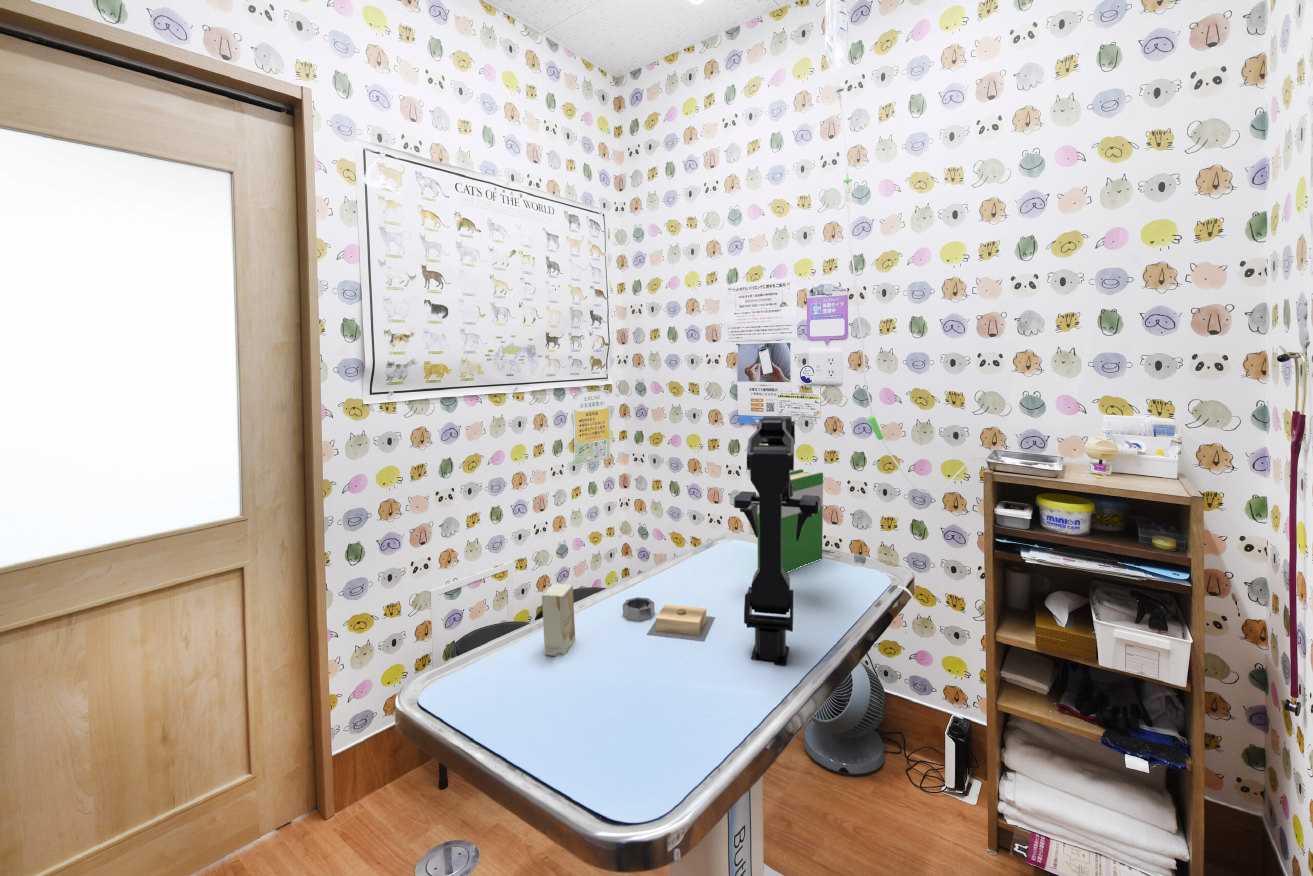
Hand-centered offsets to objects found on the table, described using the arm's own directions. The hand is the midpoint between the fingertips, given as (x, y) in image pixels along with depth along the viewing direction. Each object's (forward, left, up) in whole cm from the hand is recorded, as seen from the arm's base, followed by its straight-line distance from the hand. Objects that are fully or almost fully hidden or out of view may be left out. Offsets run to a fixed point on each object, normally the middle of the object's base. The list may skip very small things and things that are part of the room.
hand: (777, 538), depth 135 cm
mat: (-20, +18, -14) cm, 30 cm away
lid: (-20, +18, -14) cm, 30 cm away
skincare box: (-34, +39, -14) cm, 53 cm away
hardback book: (+23, -1, -14) cm, 27 cm away
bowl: (-17, +28, -14) cm, 36 cm away
